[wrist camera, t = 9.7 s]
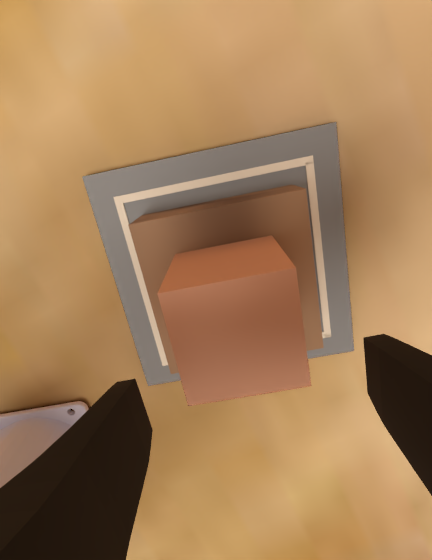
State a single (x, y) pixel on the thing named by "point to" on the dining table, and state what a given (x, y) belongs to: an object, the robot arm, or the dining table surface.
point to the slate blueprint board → (217, 185)
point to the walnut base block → (224, 230)
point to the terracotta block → (235, 321)
